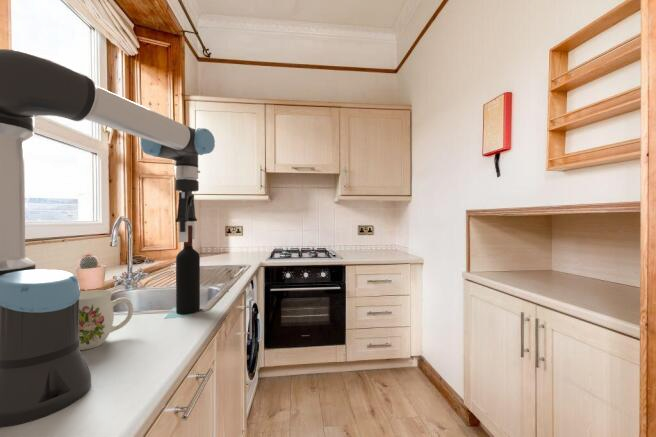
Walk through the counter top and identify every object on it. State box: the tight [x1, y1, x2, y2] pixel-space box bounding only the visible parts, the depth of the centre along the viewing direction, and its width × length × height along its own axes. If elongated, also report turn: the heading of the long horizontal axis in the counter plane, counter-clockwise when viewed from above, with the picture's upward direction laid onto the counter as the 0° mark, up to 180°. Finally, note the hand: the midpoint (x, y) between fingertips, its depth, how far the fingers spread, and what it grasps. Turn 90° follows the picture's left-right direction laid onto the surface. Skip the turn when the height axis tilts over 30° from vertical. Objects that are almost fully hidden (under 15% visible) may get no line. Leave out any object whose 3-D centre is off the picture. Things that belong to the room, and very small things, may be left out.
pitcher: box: [79, 289, 134, 351], centre depth 81 cm, size 11×18×14 cm, turn 131°
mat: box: [163, 306, 193, 320], centre depth 107 cm, size 12×12×1 cm
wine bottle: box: [175, 225, 201, 315], centre depth 107 cm, size 8×8×30 cm
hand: (187, 240), depth 107 cm, fingers open, 13 cm apart
